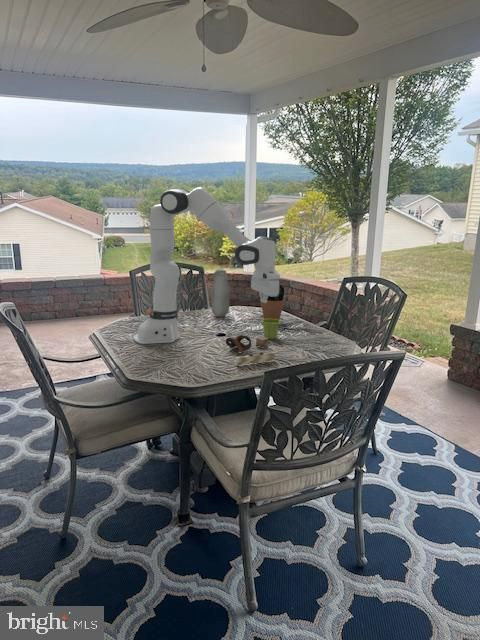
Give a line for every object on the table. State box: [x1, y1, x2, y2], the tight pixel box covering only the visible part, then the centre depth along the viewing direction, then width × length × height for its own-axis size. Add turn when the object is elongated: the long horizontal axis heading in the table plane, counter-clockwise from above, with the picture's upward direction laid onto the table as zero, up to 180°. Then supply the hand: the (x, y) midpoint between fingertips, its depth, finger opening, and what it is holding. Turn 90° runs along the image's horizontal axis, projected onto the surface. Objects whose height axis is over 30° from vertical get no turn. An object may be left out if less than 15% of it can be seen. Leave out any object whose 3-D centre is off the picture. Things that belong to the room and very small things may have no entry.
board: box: [235, 351, 276, 365], centre depth 192 cm, size 18×2×5 cm, turn 116°
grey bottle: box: [210, 268, 230, 318], centre depth 264 cm, size 10×10×28 cm
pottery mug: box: [225, 334, 252, 354], centre depth 208 cm, size 12×10×8 cm
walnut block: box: [255, 336, 269, 348], centre depth 215 cm, size 4×4×4 cm
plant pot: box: [261, 318, 281, 340], centre depth 229 cm, size 9×9×9 cm
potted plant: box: [260, 282, 285, 321], centre depth 258 cm, size 14×14×25 cm
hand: (263, 302), depth 210 cm, fingers closed
